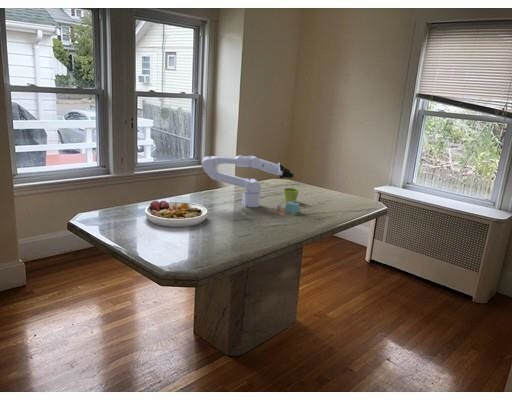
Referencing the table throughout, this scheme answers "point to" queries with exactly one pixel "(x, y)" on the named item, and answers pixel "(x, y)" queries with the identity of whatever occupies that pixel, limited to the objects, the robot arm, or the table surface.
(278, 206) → the key post
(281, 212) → the panel
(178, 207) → the bowl
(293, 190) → the plant pot
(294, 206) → the blue cube with slot
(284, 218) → the table surface
